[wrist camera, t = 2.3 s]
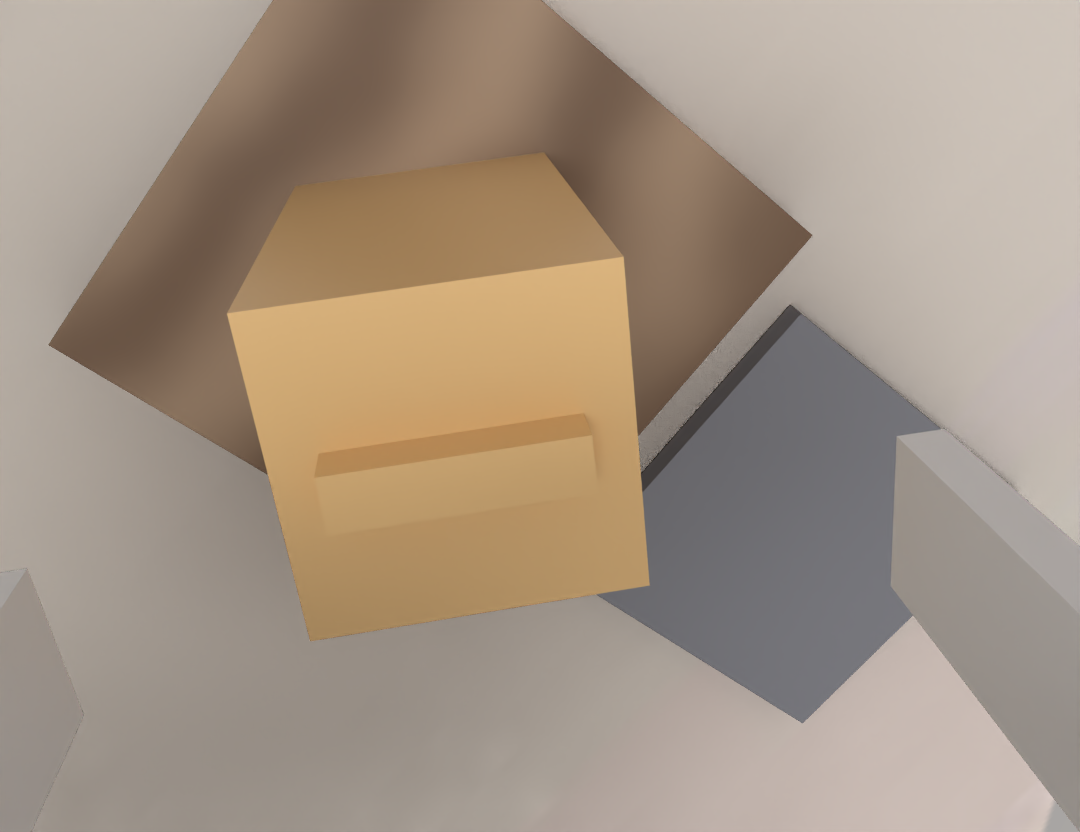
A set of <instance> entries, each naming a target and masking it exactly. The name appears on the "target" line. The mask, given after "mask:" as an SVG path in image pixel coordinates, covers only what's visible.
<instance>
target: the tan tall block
mask: <svg viewBox="0 0 1080 832" xmlns="http://www.w3.org/2000/svg"><path fill="white" fill-rule="evenodd" d="M227 316H228V320H229V324H230V328H231V332H232V336H233V339H234V343H235V347H236V351H237V355H238V359H239V363H240V367H241V371H242V375H243V379H244V383H245V387H246V391H247V395H248V398H249V402H250V406H251V410H252V414H253V418H254V422H255V426H256V430H257V434H258V438H259V442H260V446H261V450H262V454H263V457H264V461H265V465H266V469H267V473H268V477H269V481H270V485H271V489H272V493H273V497H274V501H275V505H276V509H277V513H278V516H279V520H280V524H281V528H282V532H283V536H284V540H285V544H286V548H287V552H288V556H289V560H290V564H291V568H292V572H293V575H294V579H295V583H296V587H297V591H298V595H299V599H300V603H301V607H302V611H303V615H304V619H305V623H306V627H307V631H308V634H309V638H310V641H315V640H321V639H327V638H334V637H340V636H346V635H352V634H358V633H364V632H370V631H376V630H382V629H388V628H394V627H400V626H407V625H413V624H419V623H425V622H431V621H437V620H443V619H449V618H455V617H461V616H467V615H473V614H479V613H486V612H492V611H498V610H504V609H510V608H516V607H522V606H528V605H534V604H540V603H546V602H552V601H559V600H565V599H571V598H577V597H583V596H589V595H595V594H601V593H607V592H613V591H619V590H625V589H631V588H638V587H644V586H650V583H649V571H648V558H647V545H646V533H645V520H644V507H643V495H642V482H641V470H640V457H639V444H638V432H637V419H636V407H635V394H634V381H633V369H632V356H631V343H630V331H629V318H628V306H627V293H626V280H625V268H624V257H623V255H622V254H621V253H620V251H619V250H618V249H617V247H616V246H615V245H614V243H613V242H612V241H611V240H610V238H609V237H608V236H607V234H606V233H605V232H604V230H603V229H602V228H601V226H600V225H599V224H598V222H597V221H596V220H595V219H594V217H593V216H592V215H591V213H590V212H589V211H588V209H587V208H586V207H585V205H584V204H583V203H582V202H581V200H580V199H579V198H578V196H577V195H576V194H575V192H574V191H573V190H572V188H571V187H570V186H569V185H568V183H567V182H566V181H565V179H564V178H563V177H562V175H561V174H560V173H559V171H558V170H557V169H556V167H555V166H554V165H553V164H552V162H551V161H550V160H549V158H548V157H547V156H546V154H545V153H544V152H543V153H536V154H528V155H521V156H514V157H506V158H499V159H492V160H484V161H477V162H470V163H462V164H455V165H447V166H440V167H433V168H425V169H418V170H411V171H403V172H396V173H388V174H381V175H374V176H366V177H359V178H352V179H344V180H337V181H329V182H322V183H315V184H307V185H300V186H295V187H294V189H293V191H292V193H291V195H290V197H289V199H288V201H287V202H286V204H285V206H284V208H283V210H282V212H281V214H280V215H279V217H278V219H277V221H276V223H275V225H274V227H273V228H272V230H271V232H270V234H269V236H268V238H267V240H266V242H265V243H264V245H263V247H262V249H261V251H260V253H259V255H258V256H257V258H256V260H255V262H254V264H253V266H252V268H251V269H250V271H249V273H248V275H247V277H246V279H245V281H244V283H243V284H242V286H241V288H240V290H239V292H238V294H237V296H236V297H235V299H234V301H233V303H232V305H231V307H230V309H229V311H228V312H227Z"/></svg>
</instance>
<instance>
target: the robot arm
mask: <svg viewBox="0 0 1080 832" xmlns="http://www.w3.org/2000/svg"><path fill="white" fill-rule="evenodd" d="M891 587H892V588H893V590H894V591H895V592H896V594H897V595H898V596H899V598H900V599H901V600H902V601H903V603H904V604H905V605H906V607H907V608H908V609H909V611H910V612H911V613H912V615H913V616H914V617H915V618H916V620H917V621H918V622H919V624H920V625H921V626H922V628H923V629H924V630H925V631H926V633H927V634H928V635H929V637H930V638H931V639H932V641H933V642H934V643H935V644H936V646H937V647H938V648H939V650H940V651H941V652H942V654H943V655H944V656H945V658H946V659H947V660H948V661H949V663H950V664H951V665H952V667H953V668H954V669H955V671H956V672H957V673H958V674H959V676H960V677H961V678H962V680H963V681H964V682H965V684H966V685H967V686H968V688H969V689H970V690H971V691H972V693H973V694H974V695H975V697H976V698H977V699H978V701H979V702H980V703H981V704H982V706H983V707H984V708H985V710H986V711H987V712H988V714H989V715H990V716H991V717H992V719H993V720H994V721H995V723H996V724H997V725H998V727H999V728H1000V729H1001V731H1002V732H1003V733H1004V734H1005V736H1006V737H1007V738H1008V740H1009V741H1010V742H1011V744H1012V745H1013V746H1014V747H1015V749H1016V750H1017V751H1018V753H1019V754H1020V755H1021V757H1022V758H1023V759H1024V760H1025V762H1026V763H1027V764H1028V766H1029V767H1030V768H1031V770H1032V771H1033V772H1034V774H1035V775H1036V776H1037V777H1038V779H1039V780H1040V781H1041V783H1042V784H1043V785H1044V787H1045V788H1046V789H1047V790H1048V792H1049V793H1050V794H1051V796H1052V797H1053V798H1054V800H1055V801H1056V802H1057V804H1058V805H1059V806H1060V807H1061V809H1062V810H1063V811H1064V812H1065V814H1066V815H1067V817H1068V818H1069V819H1070V820H1071V822H1072V823H1073V824H1074V826H1075V827H1076V828H1077V830H1078V831H1079V832H1080V546H1079V545H1078V544H1077V543H1076V542H1075V541H1073V540H1072V539H1071V538H1070V537H1069V536H1068V535H1067V534H1065V533H1064V532H1063V531H1062V530H1061V529H1060V528H1058V527H1057V526H1056V525H1055V524H1054V523H1053V522H1052V521H1050V520H1049V519H1048V518H1047V517H1046V516H1045V515H1044V514H1042V513H1041V512H1040V511H1039V510H1038V509H1037V508H1035V507H1034V506H1033V505H1032V504H1031V503H1030V502H1029V501H1027V500H1026V499H1025V498H1024V497H1023V496H1022V495H1021V494H1019V493H1018V492H1017V491H1016V490H1015V489H1014V488H1012V487H1011V486H1010V485H1009V484H1008V483H1007V482H1006V481H1004V480H1003V479H1002V478H1001V477H1000V476H999V475H998V474H996V473H995V472H994V471H993V470H992V469H991V468H989V467H988V466H987V465H986V464H985V463H984V462H983V461H981V460H980V459H979V458H978V457H977V456H976V455H975V454H973V453H972V452H971V451H970V450H969V449H968V448H966V447H965V446H964V445H963V444H962V443H961V442H960V441H958V440H957V439H956V438H955V437H954V436H953V435H952V434H950V433H949V432H948V431H947V430H946V429H940V430H934V431H927V432H920V433H914V434H907V435H901V436H897V441H896V465H895V490H894V514H893V539H892V563H891ZM83 716H84V714H83V712H82V709H81V706H80V704H79V701H78V699H77V696H76V693H75V691H74V688H73V686H72V683H71V680H70V678H69V675H68V673H67V670H66V667H65V665H64V662H63V660H62V657H61V654H60V652H59V649H58V647H57V644H56V641H55V639H54V636H53V634H52V631H51V628H50V626H49V623H48V621H47V618H46V615H45V613H44V610H43V608H42V605H41V602H40V600H39V597H38V595H37V592H36V589H35V587H34V584H33V582H32V579H31V576H30V574H29V571H28V569H27V568H26V569H20V570H13V571H6V572H0V832H31V831H32V829H33V827H34V825H35V822H36V820H37V818H38V816H39V814H40V811H41V809H42V807H43V805H44V803H45V800H46V798H47V796H48V794H49V791H50V789H51V787H52V785H53V783H54V780H55V778H56V776H57V774H58V772H59V769H60V767H61V765H62V763H63V760H64V758H65V756H66V754H67V752H68V749H69V747H70V745H71V743H72V741H73V738H74V736H75V734H76V732H77V729H78V727H79V725H80V723H81V721H82V718H83Z"/></svg>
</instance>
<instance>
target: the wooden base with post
mask: <svg viewBox="0 0 1080 832" xmlns="http://www.w3.org/2000/svg"><path fill="white" fill-rule="evenodd" d="M543 152H544V153H545V154H546V156H547V157H548V158H549V160H550V161H551V162H552V164H553V165H554V166H555V167H556V169H557V170H558V171H559V173H560V174H561V175H562V177H563V178H564V179H565V181H566V182H567V183H568V185H569V186H570V187H571V188H572V190H573V191H574V192H575V194H576V195H577V196H578V198H579V199H580V200H581V202H582V203H583V204H584V205H585V207H586V208H587V209H588V211H589V212H590V213H591V215H592V216H593V217H594V219H595V220H596V221H597V222H598V224H599V225H600V226H601V228H602V229H603V230H604V232H605V233H606V234H607V236H608V237H609V238H610V240H611V241H612V242H613V243H614V245H615V246H616V247H617V249H618V250H619V251H620V253H621V254H622V255H623V257H624V268H625V280H626V293H627V306H628V318H629V331H630V343H631V356H632V369H633V381H634V394H635V407H636V419H637V432H638V436H639V435H640V433H641V432H642V431H643V430H644V429H645V428H646V426H647V425H648V424H649V423H650V422H651V421H652V420H653V418H654V417H655V416H656V415H657V414H658V413H659V411H660V410H661V409H662V408H663V407H664V406H665V405H666V403H667V402H668V401H669V400H670V399H671V398H672V397H673V395H674V394H675V393H676V392H677V391H678V390H679V388H680V387H681V386H682V385H683V384H684V383H685V382H686V380H687V379H688V378H689V377H690V376H691V375H692V373H693V372H694V371H695V370H696V369H697V368H698V367H699V365H700V364H701V363H702V362H703V361H704V360H705V359H706V357H707V356H708V355H709V354H710V353H711V352H712V350H713V349H714V348H715V347H716V346H717V345H718V344H719V342H720V341H721V340H722V339H723V338H724V337H725V335H726V334H727V333H728V332H729V331H730V330H731V329H732V327H733V326H734V325H735V324H736V323H737V322H738V321H739V319H740V318H741V317H742V316H743V315H744V314H745V312H746V311H747V310H748V309H749V308H750V307H751V306H752V304H753V303H754V302H755V301H756V300H757V299H758V297H759V296H760V295H761V294H762V293H763V292H764V291H765V289H766V288H767V287H768V286H769V285H770V284H771V283H772V281H773V280H774V279H775V278H776V277H777V276H778V274H779V273H780V272H781V271H782V270H783V269H784V268H785V266H786V265H787V264H788V263H789V262H790V261H791V259H792V258H793V257H794V256H795V255H796V254H797V253H798V251H799V250H800V249H801V248H802V247H803V246H804V245H805V243H806V242H807V241H808V240H809V239H810V238H811V236H812V234H810V233H809V232H808V231H807V230H806V229H805V228H803V227H802V226H801V225H800V224H799V223H798V222H797V221H795V220H794V219H793V218H792V217H791V216H790V215H788V214H787V213H786V212H785V211H784V210H783V209H782V208H780V207H779V206H778V205H777V204H776V203H775V202H773V201H772V200H771V199H770V198H769V197H768V196H767V195H765V194H764V193H763V192H762V191H761V190H760V189H758V188H757V187H756V186H755V185H754V184H753V183H752V182H750V181H749V180H748V179H747V178H746V177H745V176H743V175H742V174H741V173H740V172H739V171H738V170H737V169H735V168H734V167H733V166H732V165H731V164H730V163H728V162H727V161H726V160H725V159H724V158H723V157H722V156H720V155H719V154H718V153H717V152H716V151H715V150H713V149H712V148H711V147H710V146H709V145H708V144H707V143H705V142H704V141H703V140H702V139H701V138H700V137H698V136H697V135H696V134H695V133H694V132H693V131H692V130H690V129H689V128H688V127H687V126H686V125H685V124H683V123H682V122H681V121H680V120H679V119H678V118H677V117H675V116H674V115H673V114H672V113H671V112H670V111H669V110H667V109H666V108H665V107H664V106H663V105H662V104H660V103H659V102H658V101H657V100H656V99H655V98H654V97H652V96H651V95H650V94H649V93H648V92H647V91H645V90H644V89H643V88H642V87H641V86H640V85H639V84H637V83H636V82H635V81H634V80H633V79H632V78H630V77H629V76H628V75H627V74H626V73H625V72H624V71H622V70H621V69H620V68H619V67H618V66H617V65H615V64H614V63H613V62H612V61H611V60H610V59H609V58H607V57H606V56H605V55H604V54H603V53H602V52H600V51H599V50H598V49H597V48H596V47H595V46H594V45H592V44H591V43H590V42H589V41H588V40H587V39H585V38H584V37H583V36H582V35H581V34H580V33H579V32H577V31H576V30H575V29H574V28H573V27H572V26H570V25H569V24H568V23H567V22H566V21H565V20H564V19H562V18H561V17H560V16H559V15H558V14H557V13H555V12H554V11H553V10H552V9H551V8H550V7H549V6H547V5H546V4H545V3H544V2H543V1H542V0H273V1H272V3H271V4H270V6H269V7H268V9H267V10H266V12H265V13H264V15H263V16H262V18H261V19H260V21H259V22H258V24H257V26H256V27H255V29H254V30H253V32H252V33H251V35H250V36H249V38H248V39H247V41H246V42H245V44H244V46H243V47H242V49H241V50H240V52H239V53H238V55H237V56H236V58H235V59H234V61H233V62H232V64H231V65H230V67H229V69H228V70H227V72H226V73H225V75H224V76H223V78H222V79H221V81H220V82H219V84H218V85H217V87H216V88H215V90H214V92H213V93H212V95H211V96H210V98H209V99H208V101H207V102H206V104H205V105H204V107H203V108H202V110H201V111H200V113H199V115H198V116H197V118H196V119H195V121H194V122H193V124H192V125H191V127H190V128H189V130H188V131H187V133H186V134H185V136H184V138H183V139H182V141H181V142H180V144H179V145H178V147H177V148H176V150H175V151H174V153H173V154H172V156H171V157H170V159H169V161H168V162H167V164H166V165H165V167H164V168H163V170H162V171H161V173H160V174H159V176H158V177H157V179H156V181H155V182H154V184H153V185H152V187H151V188H150V190H149V191H148V193H147V194H146V196H145V197H144V199H143V200H142V202H141V204H140V205H139V207H138V208H137V210H136V211H135V213H134V214H133V216H132V217H131V219H130V220H129V222H128V223H127V225H126V227H125V228H124V230H123V231H122V233H121V234H120V236H119V237H118V239H117V240H116V242H115V243H114V245H113V246H112V248H111V250H110V251H109V253H108V254H107V256H106V257H105V259H104V260H103V262H102V263H101V265H100V266H99V268H98V269H97V271H96V273H95V274H94V276H93V277H92V279H91V280H90V282H89V283H88V285H87V286H86V288H85V289H84V291H83V292H82V294H81V296H80V297H79V299H78V300H77V302H76V303H75V305H74V306H73V308H72V309H71V311H70V312H69V314H68V316H67V317H66V319H65V320H64V322H63V323H62V325H61V326H60V328H59V329H58V331H57V332H56V334H55V335H54V337H53V339H52V340H51V342H50V343H49V346H51V347H53V348H54V349H56V350H58V351H59V352H61V353H63V354H65V355H66V356H68V357H70V358H71V359H73V360H75V361H76V362H78V363H80V364H81V365H83V366H85V367H87V368H88V369H90V370H92V371H93V372H95V373H97V374H98V375H100V376H102V377H103V378H105V379H107V380H109V381H110V382H112V383H114V384H115V385H117V386H119V387H120V388H122V389H124V390H125V391H127V392H129V393H131V394H132V395H134V396H136V397H137V398H139V399H141V400H142V401H144V402H146V403H147V404H149V405H151V406H153V407H154V408H156V409H158V410H159V411H161V412H163V413H164V414H166V415H168V416H169V417H171V418H173V419H175V420H176V421H178V422H180V423H181V424H183V425H185V426H186V427H188V428H190V429H191V430H193V431H195V432H197V433H198V434H200V435H202V436H203V437H205V438H207V439H208V440H210V441H212V442H213V443H215V444H217V445H219V446H220V447H222V448H224V449H225V450H227V451H229V452H230V453H232V454H234V455H235V456H237V457H239V458H240V459H242V460H244V461H246V462H247V463H249V464H251V465H252V466H254V467H256V468H257V469H259V470H261V471H262V472H264V473H266V474H268V473H267V469H266V465H265V461H264V457H263V454H262V450H261V446H260V442H259V438H258V434H257V430H256V426H255V422H254V418H253V414H252V410H251V406H250V402H249V398H248V395H247V391H246V387H245V383H244V379H243V375H242V371H241V367H240V363H239V359H238V355H237V351H236V347H235V343H234V339H233V336H232V332H231V328H230V324H229V320H228V316H227V312H228V311H229V309H230V307H231V305H232V303H233V301H234V299H235V297H236V296H237V294H238V292H239V290H240V288H241V286H242V284H243V283H244V281H245V279H246V277H247V275H248V273H249V271H250V269H251V268H252V266H253V264H254V262H255V260H256V258H257V256H258V255H259V253H260V251H261V249H262V247H263V245H264V243H265V242H266V240H267V238H268V236H269V234H270V232H271V230H272V228H273V227H274V225H275V223H276V221H277V219H278V217H279V215H280V214H281V212H282V210H283V208H284V206H285V204H286V202H287V201H288V199H289V197H290V195H291V193H292V191H293V189H294V187H295V186H300V185H307V184H315V183H322V182H329V181H337V180H344V179H352V178H359V177H366V176H374V175H381V174H388V173H396V172H403V171H411V170H418V169H425V168H433V167H440V166H447V165H455V164H462V163H470V162H477V161H484V160H492V159H499V158H506V157H514V156H521V155H528V154H536V153H543Z"/></svg>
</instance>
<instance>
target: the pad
mask: <svg viewBox="0 0 1080 832" xmlns="http://www.w3.org/2000/svg"><path fill="white" fill-rule="evenodd" d="M940 429H941V428H939V427H938V426H937V425H936V424H935V423H933V422H932V421H931V420H930V419H928V418H927V417H926V416H925V415H924V414H922V413H921V412H920V411H919V410H918V409H916V408H915V407H914V406H913V405H911V404H910V403H909V402H908V401H907V400H905V399H904V398H903V397H902V396H901V395H899V394H898V393H897V392H896V391H894V390H893V389H892V388H891V387H890V386H888V385H887V384H886V383H885V382H884V381H882V380H881V379H880V378H879V377H877V376H876V375H875V374H874V373H873V372H871V371H870V370H869V369H868V368H867V367H865V366H864V365H863V364H862V363H860V362H859V361H858V360H857V359H856V358H854V357H853V356H852V355H851V354H850V353H848V352H847V351H846V350H845V349H844V348H842V347H841V346H840V345H839V344H837V343H836V342H835V341H834V340H833V339H831V338H830V337H829V336H828V335H827V334H825V333H824V332H823V331H822V330H820V329H819V328H818V327H817V326H816V325H814V324H813V323H812V322H811V321H810V320H808V319H807V318H806V317H805V316H803V315H802V314H801V313H800V312H799V311H797V310H796V309H795V308H794V307H793V306H791V305H789V307H788V308H787V309H786V310H785V311H784V312H783V313H782V315H781V316H780V317H779V318H778V319H777V320H776V321H775V322H774V324H773V325H772V326H771V327H770V328H769V329H768V330H767V332H766V333H765V334H764V335H763V336H762V337H761V338H760V340H759V341H758V342H757V343H756V344H755V345H754V346H753V347H752V349H751V350H750V351H749V352H748V353H747V354H746V355H745V357H744V358H743V359H742V360H741V361H740V362H739V363H738V365H737V366H736V367H735V368H734V369H733V370H732V371H731V372H730V374H729V375H728V376H727V377H726V378H725V379H724V380H723V382H722V383H721V384H720V385H719V386H718V387H717V388H716V389H715V391H714V392H713V393H712V394H711V395H710V396H709V397H708V399H707V400H706V401H705V402H704V403H703V404H702V405H701V407H700V408H699V409H698V410H697V411H696V412H695V413H694V414H693V416H692V417H691V418H690V419H689V420H688V421H687V422H686V424H685V425H684V426H683V427H682V428H681V429H680V430H679V432H678V433H677V434H676V435H675V436H674V437H673V438H672V439H671V441H670V442H669V443H668V444H667V445H666V446H665V447H664V449H663V450H662V451H661V452H660V453H659V454H658V455H657V457H656V458H655V459H654V460H653V461H652V462H651V463H650V464H649V466H648V467H647V468H646V469H645V470H644V471H643V472H642V474H641V482H642V495H643V507H644V520H645V533H646V545H647V558H648V571H649V583H650V586H644V587H638V588H631V589H625V590H619V591H613V592H607V593H601V594H596V595H598V596H599V597H601V598H603V599H604V600H606V601H607V602H609V603H611V604H612V605H614V606H615V607H617V608H619V609H620V610H622V611H623V612H625V613H627V614H628V615H630V616H631V617H633V618H635V619H636V620H638V621H639V622H641V623H643V624H644V625H646V626H647V627H649V628H651V629H652V630H654V631H655V632H657V633H659V634H660V635H662V636H663V637H665V638H667V639H668V640H670V641H671V642H673V643H675V644H676V645H678V646H679V647H681V648H683V649H684V650H686V651H687V652H689V653H691V654H692V655H694V656H695V657H697V658H699V659H700V660H702V661H703V662H705V663H707V664H708V665H710V666H712V667H713V668H715V669H716V670H718V671H720V672H721V673H723V674H724V675H726V676H728V677H729V678H731V679H732V680H734V681H736V682H737V683H739V684H740V685H742V686H744V687H745V688H747V689H748V690H750V691H752V692H753V693H755V694H756V695H758V696H760V697H761V698H763V699H764V700H766V701H768V702H769V703H771V704H772V705H774V706H776V707H777V708H779V709H780V710H782V711H784V712H785V713H787V714H788V715H790V716H792V717H793V718H795V719H796V720H798V721H800V722H801V723H803V722H804V721H805V720H806V719H808V718H809V717H810V716H811V715H812V714H813V713H814V712H815V711H816V710H817V709H818V708H819V707H820V706H821V705H822V704H823V703H824V702H825V701H826V700H827V699H828V698H829V697H830V696H831V695H832V694H833V693H834V692H835V691H836V690H837V689H838V688H839V687H840V686H841V685H842V684H843V683H844V682H845V681H846V680H847V679H848V678H849V677H850V676H851V675H852V674H853V673H854V672H856V671H857V670H858V669H859V668H860V667H861V666H862V665H863V664H864V663H865V662H866V661H867V660H868V659H869V658H870V657H871V656H872V655H873V654H874V653H875V652H876V651H877V650H878V649H879V648H880V647H881V646H882V645H883V644H884V643H885V642H886V641H887V640H888V639H889V638H890V637H891V636H892V635H893V634H894V633H895V632H896V631H897V630H898V629H899V628H900V627H901V626H902V625H903V624H905V623H906V622H907V621H908V620H909V619H910V618H911V617H912V616H913V615H912V613H911V612H910V611H909V609H908V608H907V607H906V605H905V604H904V603H903V601H902V600H901V599H900V598H899V596H898V595H897V594H896V592H895V591H894V590H893V588H892V587H891V563H892V539H893V514H894V490H895V465H896V441H897V436H901V435H907V434H914V433H920V432H927V431H934V430H940ZM1027 501H1028V500H1027Z"/></svg>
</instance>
